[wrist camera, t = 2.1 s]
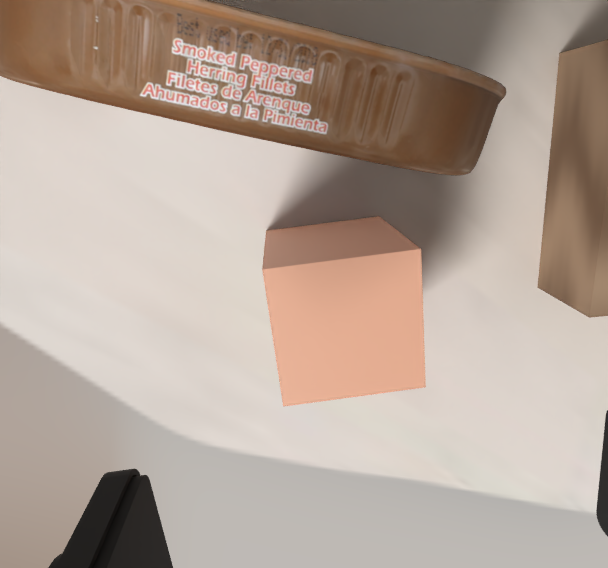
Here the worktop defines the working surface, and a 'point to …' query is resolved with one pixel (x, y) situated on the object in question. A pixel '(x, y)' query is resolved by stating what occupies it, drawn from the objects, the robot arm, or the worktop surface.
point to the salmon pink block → (344, 309)
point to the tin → (254, 78)
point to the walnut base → (578, 185)
